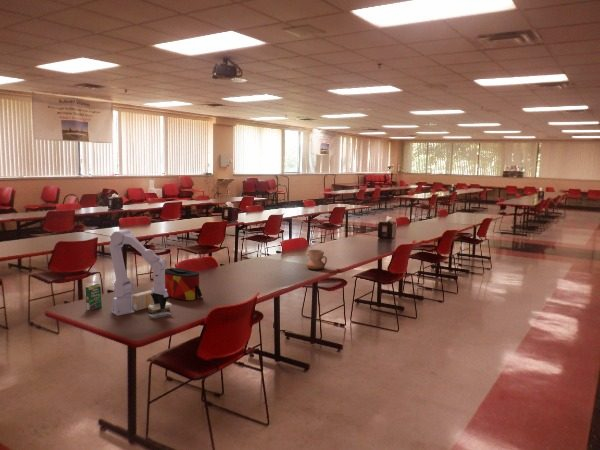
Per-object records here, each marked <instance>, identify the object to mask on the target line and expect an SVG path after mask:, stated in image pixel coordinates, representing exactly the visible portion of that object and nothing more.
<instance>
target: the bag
mask: <svg viewBox="0 0 600 450" xmlns="http://www.w3.org/2000/svg"><path fill="white" fill-rule="evenodd" d="M165 289H167V291H166V292H167V293H168V296H169V298H170V299H172V298H173V300H176V301H180V302H182V301H183V302H194V301H197V299H198V300H199V299H200V298H201V297H202V296H203V293H202V291H201V289H200V272H199V271H195V270H189V269H184V268H180V267H179V268H177V267H171V268H165ZM169 298H168V299H169Z"/></svg>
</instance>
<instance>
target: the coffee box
mask: <svg viewBox="0 0 600 450" xmlns="http://www.w3.org/2000/svg"><path fill="white" fill-rule="evenodd" d="M101 285H102V284H100V283H95V284H93V285H88V286H84V287H85V288H84V290H85V303H86V304H85V305H86V311H88V310H89V312H91V311H94V310H97V309H100V308H102V306H103V304H102V302H103V301H102V289H101V287H102V286H101ZM93 309H94V310H93ZM90 310H91V311H90Z"/></svg>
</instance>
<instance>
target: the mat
mask: <svg viewBox="0 0 600 450" xmlns="http://www.w3.org/2000/svg"><path fill="white" fill-rule="evenodd" d="M147 315H148V317H150V318H152V319H159V318H163V317H168V316H172V315H173V314H172V313H171V312H169V311H168V310H167V311H162V312H158V313H153V314H152V313H149V314H147Z"/></svg>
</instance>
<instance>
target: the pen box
mask: <svg viewBox="0 0 600 450" xmlns="http://www.w3.org/2000/svg"><path fill="white" fill-rule="evenodd" d="M167 302H168V303H170V302H169V301H167ZM149 305H154V303H153V304H148V306H149ZM147 311H148V313H149V314H153V313H158V312H163V311H167V312H168V311H170V307H167V308H165V309H157V310H151V309H149V308H148V310H147Z"/></svg>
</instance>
